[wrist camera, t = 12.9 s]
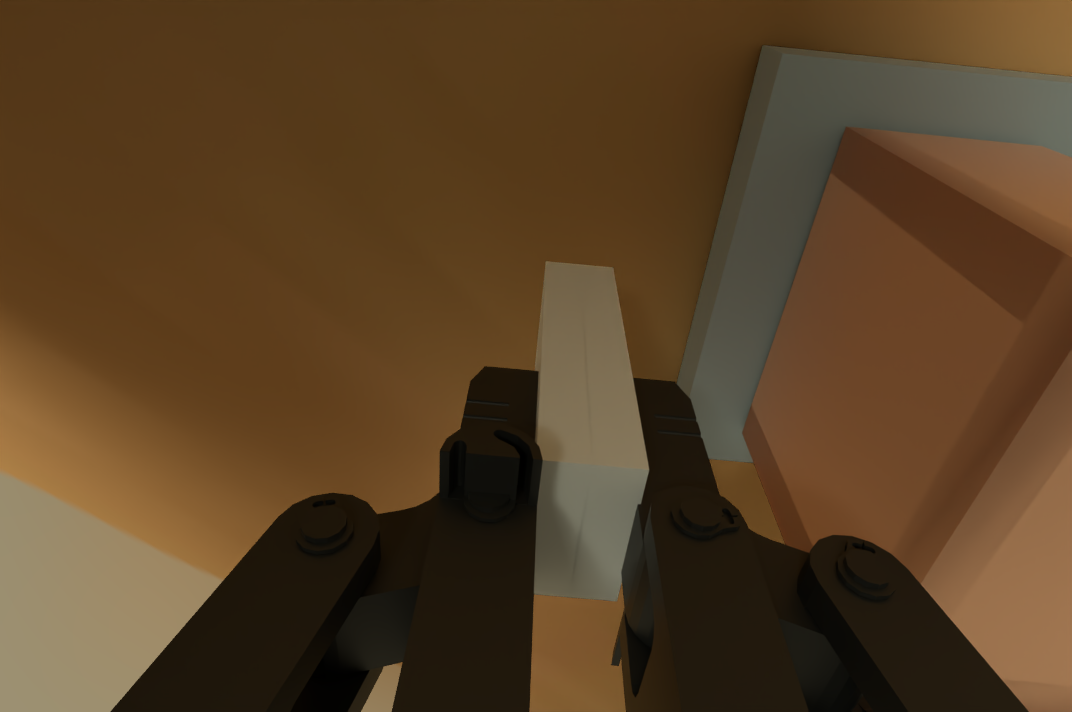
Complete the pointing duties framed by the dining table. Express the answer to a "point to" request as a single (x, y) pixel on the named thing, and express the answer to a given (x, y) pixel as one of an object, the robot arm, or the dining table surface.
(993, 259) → the block
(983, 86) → the board
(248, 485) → the dining table surface
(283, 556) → the robot arm
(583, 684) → the dining table surface
